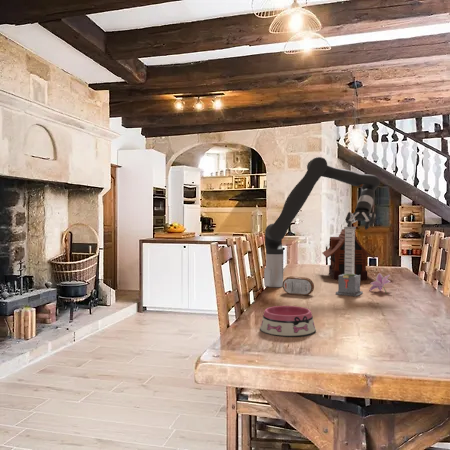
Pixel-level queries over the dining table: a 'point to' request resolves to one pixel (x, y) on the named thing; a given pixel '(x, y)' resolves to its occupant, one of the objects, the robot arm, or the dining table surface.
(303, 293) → the tin
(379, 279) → the lily
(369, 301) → the dining table surface
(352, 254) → the column
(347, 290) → the stand housing
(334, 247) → the house
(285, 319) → the dog bowl
